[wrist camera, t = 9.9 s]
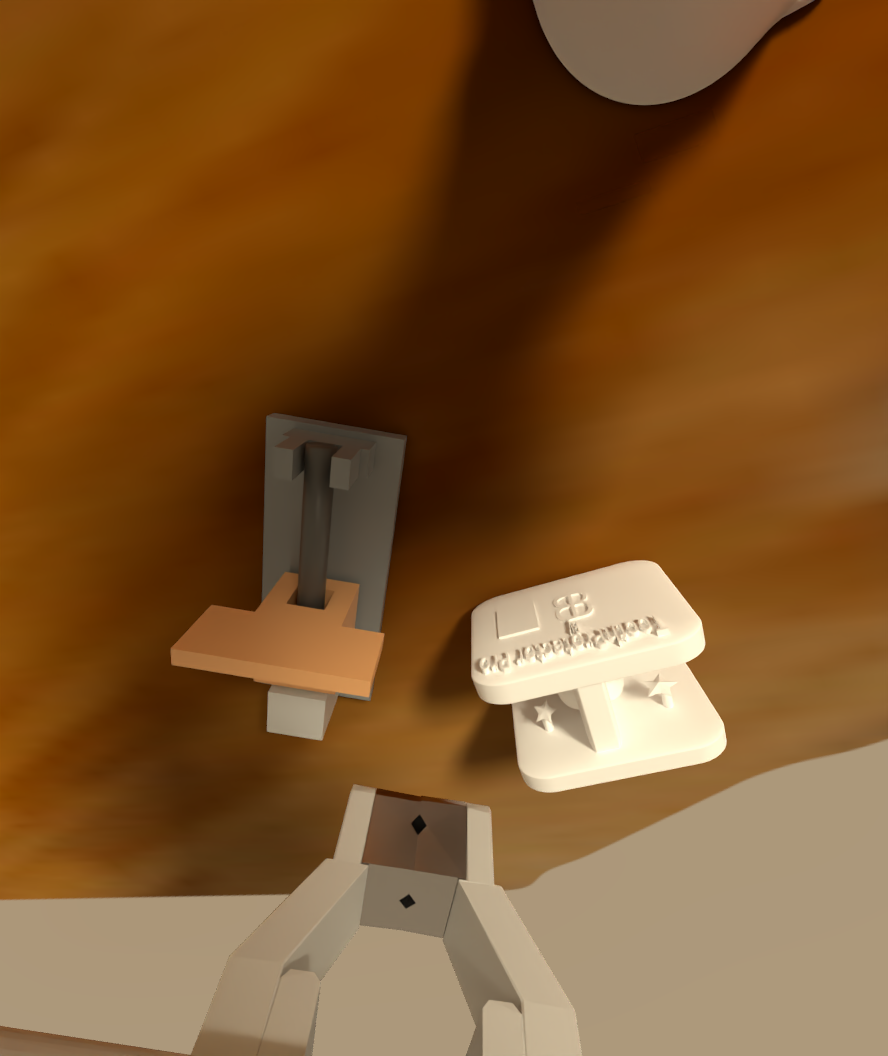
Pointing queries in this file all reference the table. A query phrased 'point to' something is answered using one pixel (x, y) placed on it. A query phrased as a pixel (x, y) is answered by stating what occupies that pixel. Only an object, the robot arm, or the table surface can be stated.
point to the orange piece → (287, 641)
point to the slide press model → (327, 533)
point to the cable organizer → (597, 676)
